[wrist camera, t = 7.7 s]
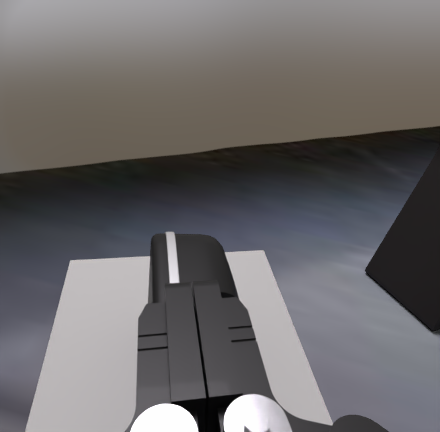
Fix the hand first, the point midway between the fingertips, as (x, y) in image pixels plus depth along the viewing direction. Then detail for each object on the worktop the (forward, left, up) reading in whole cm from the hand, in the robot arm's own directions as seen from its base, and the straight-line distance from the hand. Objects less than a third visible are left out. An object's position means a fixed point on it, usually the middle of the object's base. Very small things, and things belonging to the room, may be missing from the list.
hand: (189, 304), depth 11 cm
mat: (0, +8, -10) cm, 13 cm away
